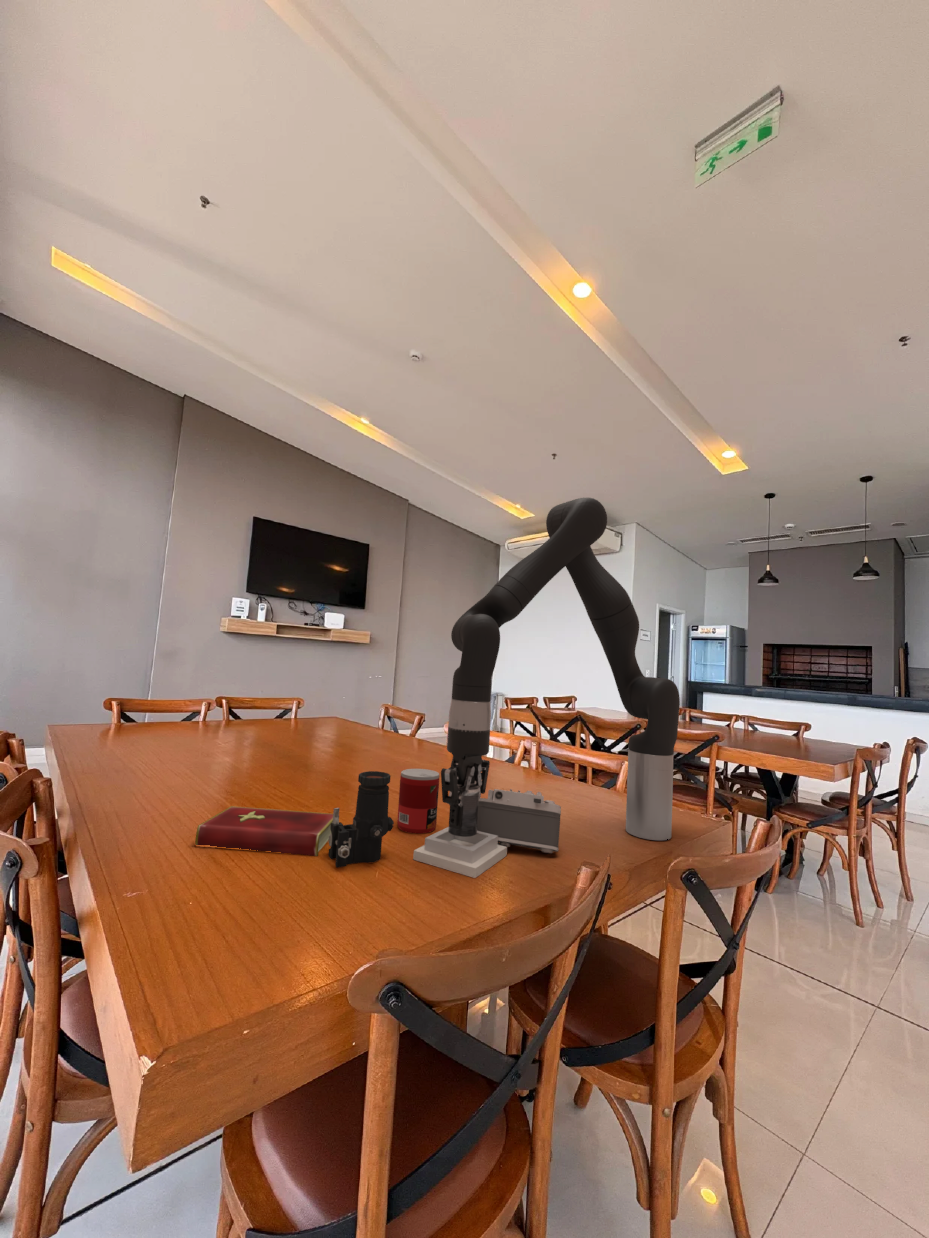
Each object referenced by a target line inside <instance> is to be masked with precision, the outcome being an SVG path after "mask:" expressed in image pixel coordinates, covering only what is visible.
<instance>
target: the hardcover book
mask: <svg viewBox="0 0 929 1238" xmlns="http://www.w3.org/2000/svg"><path fill="white" fill-rule="evenodd" d="M331 823H333V813H331V812H330V813H327V812H317V811H316V812H313V811H299V810H290V809H289V810H288V809H277V808H275V809H274V808H261V807H258V808H257V807H245V806H234V805H233V806H232V805H230V806H229V807H227V808H225V809H224V810H222V811H220V812H218V813H217V814H215V815H214V816H212V817H210V818H209V819H207V820H204V821H203V822H201V823H199V824H198V825H197V828H196V834H195V843H194V844H196V845H210V846H217V847H226V848H239V849H240V848H241V849H249V850H250V849H251V850H256V851H255V852H257V850H258V851H271V852H281V853H280V854H284V853H291V854H290V855H297V854H301V855H300V856H309V857H310V856H311V857H312V856H314V857H318V856H319V852H320V851H321V849H322V848H323V847H324V846H325V845H326V843H328V842H329V835H330V834H332V833H331ZM302 854H303V855H302Z"/></svg>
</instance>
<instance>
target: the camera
mask: <svg viewBox="0 0 929 1238" xmlns="http://www.w3.org/2000/svg"><path fill="white" fill-rule="evenodd" d="M487 792H488V793H487V798H483V797H480V799H479V804H478V821H477V831H481V832H485V833H489V834H493V835H497V836H498V844H499V845H501V846H505V847H507V848H510V847H511V845H512V846H514V847H515V846H516V847H521V848H526V849H527V848H529V849H534V850H540V852H542V853H544V854H549V855H550V854H551V855H552V854H553V853H554V852H555V853H557V852H559V845H560V832H561V831H560V829H561V815H562V809H561V808H562V806H561V805H558V804H556V802H555V800H554V801H553V800H550V799H547V800H545V799H544V798H545V796H544V795H543V794H542V792H541V791H537V792H536V794H535V793H534V792H533V791H532V790H526V791H525V792H521V790H517V791H513V789H512V788H510V789H509V790H504V789H498V788H497V789H496V788H494V789H488V791H487Z"/></svg>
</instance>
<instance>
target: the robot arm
mask: <svg viewBox="0 0 929 1238" xmlns="http://www.w3.org/2000/svg"><path fill="white" fill-rule="evenodd" d="M545 521H546V522H545V523H546V524H545V526H546V532H547V535H548V537H549V538H548V539H547V540H546V541H545V542H544V543H542V544H541V545H540V546H539V547H538V548H536V549H535V550H533V552H531V553H530V554H528V555H527V556H525V557H523V558H522V559H521V560H519V561H518V562H517V563H515V565H514V566H512V567H511V568H510V569H509V570H508V571H507V572H505V574H504V575H503V576H502V577H501V578H500V579H499V580H498V581H497V582H496V583H495V584H494V585H493V586H492V588H491V589H490V590H489V591H488V593H487V594H485V596H484V597H482V598H480V600H479V601H477V602H476V603H474V604H473V605H472V606H471V607H470V608H469V609H467V610H466V611H465V612H464V613H463V614H462V615H461V616H459V618H458V619H457V620H456V621H455V622H454V625H453V626H452V629H451V632H450V633H451V636H450V638H451V642H452V644H453V646H454V647H455V648H456V649H457V650H458V651H460V652H461V658H460V664H459V666H458V667H457V668H456V669H455V670H454V673H453V676H452V686H451V687H452V691H451V702H450V707H449V714H448V723H447V724H448V725H447V726H448V727H447V738H446V739H447V740H446V741H447V742H446V750H447V752H448V753H450V754H452V760H451V763H450V766H449V768H444V767H443V768H441V770H440V778H441V779H440V781H441V782H440V783H441V795H442V796H441V798H442V803H445V804H447V805H449V815H448V827H449V826H450V827H451V828H455V829H459V828H461V827H462V815H463V802H464V798H465V794H466V793H468V791H469V787H470V784H476V785H479V786H480V793H479V799H480V798H482V794H485V793H486V790H487V789H486V788H487V783H488V777H489V771H490V765H491V763H490V760H486V759H483V756H487V755H488V754H489V752H490V741H491V740H490V739H491V738H490V737H491V721H492V720H491V719H492V710H491V698H492V677H493V675H494V671H495V667H496V663H497V659H498V655H499V651H500V646H501V631H500V628H501V627H502V626H503V625H505V624H507V623H508V622H510V621H513V620H514V619H516V617H518V616H519V615H520V614H521V612H523V610H524V609H525V608H526V607H527V606H528V605H529V603H531V602H532V601H533V599H534V598H536V596H537V595H538V594H539V592H541V590H542V589H543V588H544V587H546V586H547V585H548V583H549V582H550V581H551V580H552V579H554V577H555V576H557V575H558V574H559V573H560V572H561V571H562V570H563V569H564V568H565V567H566V570H567V571H568V574H569V576H570V577H571V580H572V582H573V585H574V587H575V588H576V591H577V593H578V595H579V597H580V599H581V602H582V604H583V606H584V607H585V608H584V609H585V611H586V614H587V617H588V618H589V621H590V622H591V626H592V629H594V632H595V634H596V635H597V638H598V640H599V642H600V644H601V647H602V649H603V652H604V654H605V657H606V659H607V661H608V664H609V667H610V670H611V672H612V675H613V678H614V681H615V685H616V689H617V691H618V695H619V698H620V701H621V703H622V705H623V708H624V709H625V711H626V712H627V714H629V715H631V716H632V717H635V718H638V719H642V720H647V723H646V728H645V730H643V731H641V732H640V733H638V734H633V735H631V736H630V737H629V739H628V744H627V745H628V750H627V751H628V752H627V774H626V775H627V776H626V777H627V779H626V781H627V782H626V804H625V805H626V807H625V809H626V810H625V832H626V833H628V834H629V835H632V836H634V837H637V838H640V839H644V840H648V841H649V840H651V841H668V840H670V839H671V838H672V831H673V830H672V827H673V826H672V825H673V823H672V822H673V796H674V795H673V792H674V791H673V790H674V787H673V786H674V750H675V745H676V742H677V738H678V732H679V730H678V729H679V721H680V720H679V718H680V706H681V702H680V701H681V698H680V692H679V689H678V686H677V685H676V683H675V682H674V681H673V680H672V679H668V678H664V677H663V678H662V677H652V676H650V677H649V676H645V675H644V673H643V672H642V671H641V668H640V665H639V663H638V660H637V656H636V646H637V643H638V638H639V634H640V633H639V632H640V621H639V617H638V615H637V612H636V609H635V606H634V605H633V602H632V599H631V597H630V595H629V593H628V591H627V590H626V589H625V588H624V587H623V585H622V583H621V584H620V582H619V581H618V580H617V579H616V578H615V577H614V576H613V575H611V573H610V572H609V571H608V570H606V569H605V567H604V566H603V565H602V564H601V562H600V561H599V560H598V558H597V557H596V554H595V553H594V551H593V548H592V547H591V546H593V544H594V543H596V542H597V541H598V540H600V538H601V537H602V536H603V535H604V533H605V531H606V529H607V525H608V516H607V511H606V509H605V506H604V505H603V504H602V503H601V501H599V500H598V499H595V498H594V497H593V498H592V497H579V498H576V499H573V500H569V501H566V502H563V503H559V504H556V505H555V506H553V507H552V508H551V509H550V510H549V512H548V514H547V516H546V520H545ZM458 785H463V787H459V786H458ZM458 791H459V792H460V794H459V799H458ZM667 839H668V840H667Z"/></svg>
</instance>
